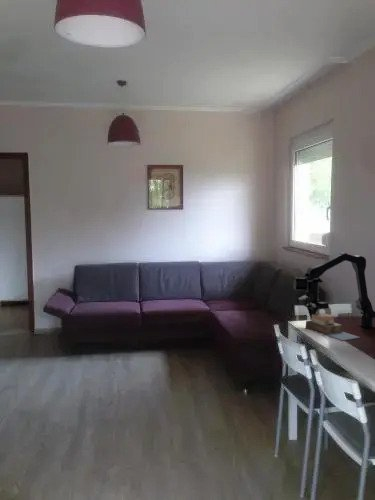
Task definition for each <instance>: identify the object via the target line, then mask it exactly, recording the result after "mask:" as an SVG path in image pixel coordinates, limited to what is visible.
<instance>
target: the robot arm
mask: <svg viewBox="0 0 375 500" xmlns="http://www.w3.org/2000/svg"><path fill="white" fill-rule="evenodd" d="M345 261H346V262H350V263H351V265H352V268H353V270H354V272H355V278H356V285H357V291H358V299H356V300H355V304H356V307H355V308H357V310H358V311H359V313H360V315H361V321H360V324H359V325H358V326H359V327H360V328H361V327H362V328H365V329H368V330H369V329H374V328H375V310H374V309H373V304H372V302H371V301H370V298H369V296H368V288H367V280H366V274H365V271H366V267H367V260H366V257H365V256H361V255H358V254H355V255H351V254H348V253H346V252H340V253H339V254H337V255H336V256H333V257H332V258H330V259H328V260H326V261H324V262H323V263H320V264H316V265H312V266H310V267H308V268H307V270H306V273H305V274H304V276H303V277H294V280H293V284H292V286H293V287H292V288H293V290H294V291H305V292H304V293H305V294H304V295H302V296H300V297H298V298H297V299H296V304H299V305H303V306H304V307H305V308H306V309H307V311H308V314H309V318H310V320H312V314H316V312H317V310H318V309H320V310H324V309H326V308H329V307H330V305H329V303H328V302H325V301H321V300H320V299H319V295H320V294H321V292H320V291H319V286H320V285H319V284H320V283H324V282H323V280H322V279H321V276H322V275H324V273H325V272H326V271H328V270H330V269H332V268H334V267H335V266H337V265H339V264H341V263H344V262H345Z"/></svg>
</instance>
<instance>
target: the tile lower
mask: <svg viewBox="0 0 375 500" xmlns="http://www.w3.org/2000/svg"><path fill="white" fill-rule="evenodd" d="M311 320H312V321H311ZM311 320H310V321H311V322H314V323H317V324H321V325H327V324H334V323H335V319H334V320H329V321H320V320H317V319H313V318H312V319H311Z"/></svg>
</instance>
